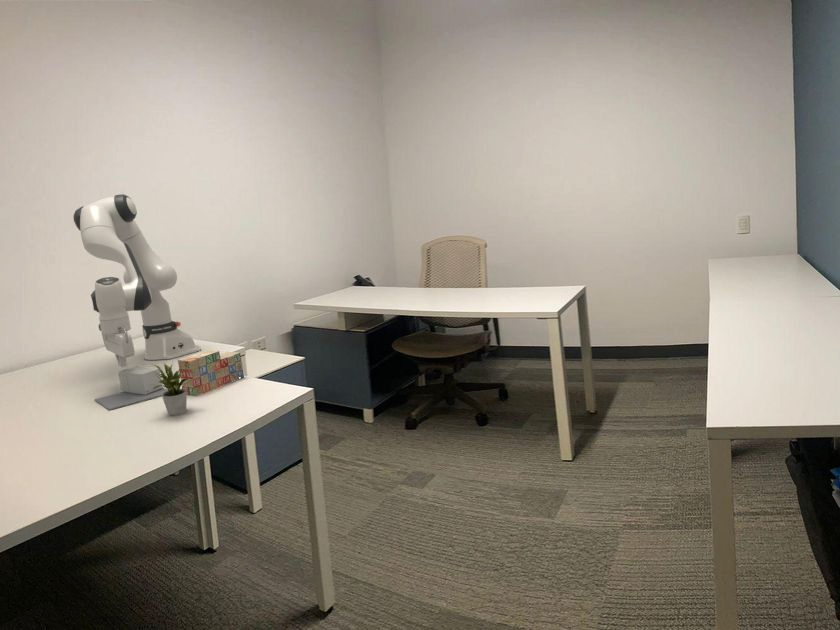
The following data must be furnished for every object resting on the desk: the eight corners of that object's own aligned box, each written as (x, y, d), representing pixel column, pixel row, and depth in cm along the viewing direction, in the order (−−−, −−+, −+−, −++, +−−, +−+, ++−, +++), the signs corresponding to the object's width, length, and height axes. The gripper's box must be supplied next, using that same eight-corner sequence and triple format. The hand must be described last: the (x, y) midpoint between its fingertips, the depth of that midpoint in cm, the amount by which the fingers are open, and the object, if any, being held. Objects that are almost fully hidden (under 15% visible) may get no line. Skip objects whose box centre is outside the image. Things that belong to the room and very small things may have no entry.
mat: (155, 384, 218) (155, 383, 218) (172, 393, 206) (172, 392, 206) (94, 400, 205) (94, 399, 205) (109, 410, 193) (108, 409, 193)
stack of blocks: (231, 376, 222) (227, 343, 220) (244, 377, 219) (239, 344, 217) (182, 395, 204) (177, 359, 202) (195, 396, 201) (189, 360, 199)
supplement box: (140, 385, 217) (163, 388, 211) (120, 391, 211) (144, 395, 205) (136, 365, 216) (160, 368, 210) (117, 370, 210) (141, 374, 203)
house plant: (137, 419, 183) (127, 366, 180) (170, 403, 196) (162, 353, 192) (175, 422, 178) (166, 368, 175) (207, 406, 190) (199, 355, 187)
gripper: (135, 327, 200) (142, 368, 203) (116, 321, 215) (122, 359, 218) (115, 331, 196) (122, 373, 199) (96, 324, 211) (103, 363, 214)
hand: (122, 366), depth 209 cm, fingers closed
